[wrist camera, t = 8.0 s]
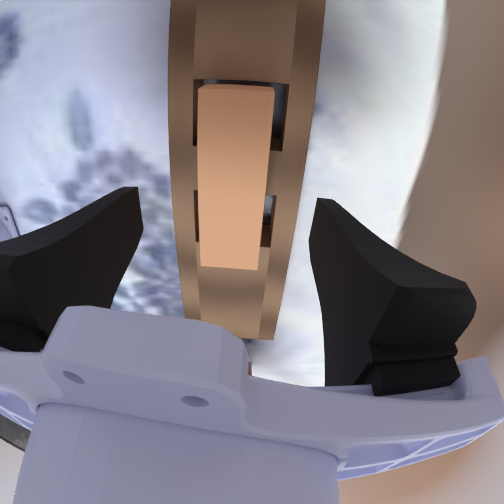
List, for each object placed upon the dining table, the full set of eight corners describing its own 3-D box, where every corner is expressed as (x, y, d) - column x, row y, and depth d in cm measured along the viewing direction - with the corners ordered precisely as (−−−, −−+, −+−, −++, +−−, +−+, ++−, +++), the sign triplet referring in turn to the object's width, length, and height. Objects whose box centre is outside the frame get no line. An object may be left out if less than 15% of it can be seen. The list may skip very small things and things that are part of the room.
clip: (258, 220, 20) (257, 270, 16) (213, 216, 20) (200, 265, 16) (271, 81, 14) (275, 92, 10) (216, 78, 14) (198, 88, 10)
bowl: (57, 415, 57) (43, 462, 45) (-6, 378, 50) (-24, 422, 39) (56, 396, 46) (37, 456, 34) (-20, 348, 40) (-46, 403, 28)
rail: (272, 316, 26) (273, 340, 24) (192, 310, 26) (187, 333, 24) (321, -58, 9) (330, -73, 7) (190, -64, 8) (180, -79, 7)
